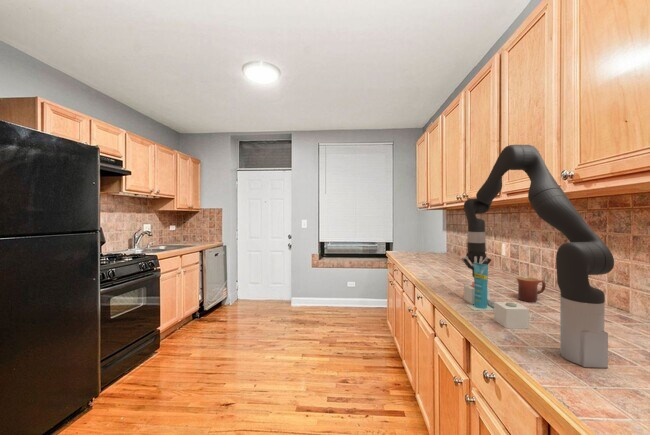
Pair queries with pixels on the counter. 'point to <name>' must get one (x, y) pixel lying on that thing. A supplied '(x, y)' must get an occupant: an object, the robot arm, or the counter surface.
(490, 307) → the pad
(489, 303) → the rail
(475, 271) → the tube
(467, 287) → the grey block
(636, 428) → the counter surface
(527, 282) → the mug
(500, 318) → the block with green button
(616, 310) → the counter surface
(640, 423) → the counter surface
